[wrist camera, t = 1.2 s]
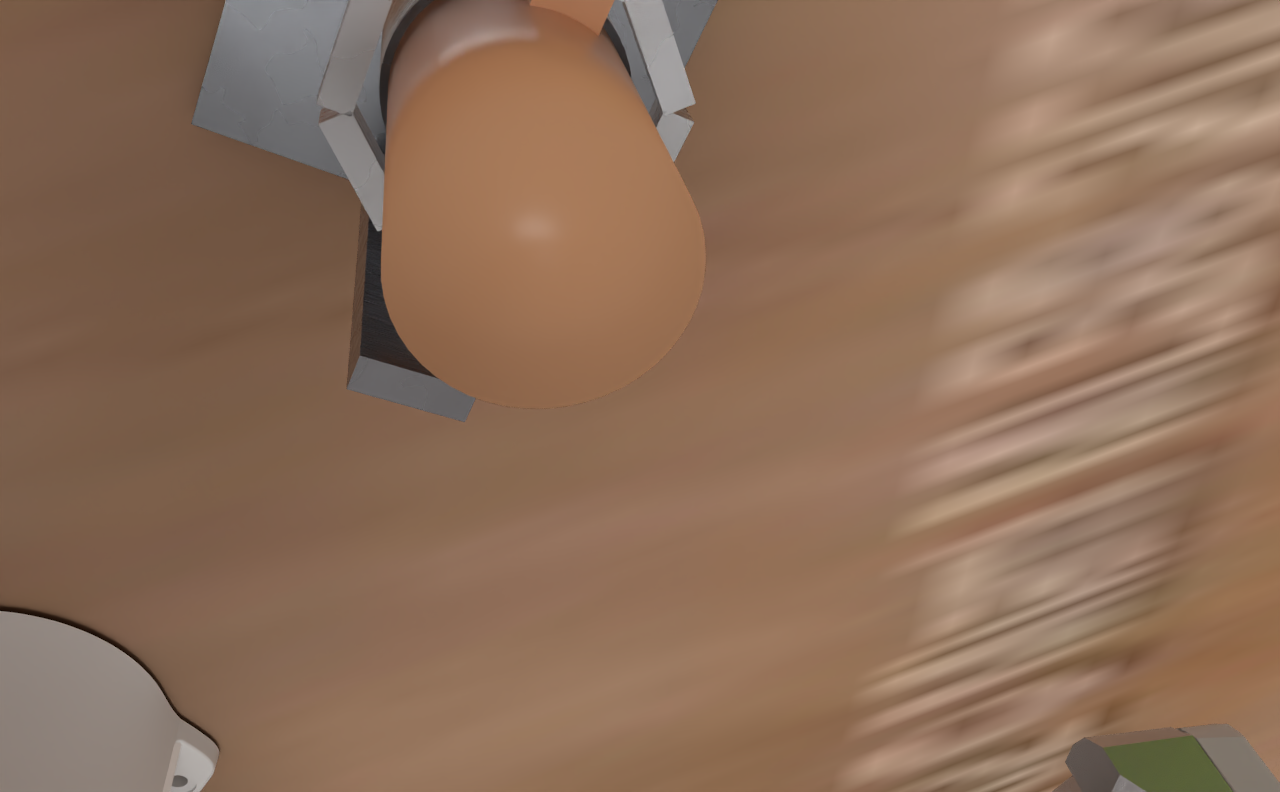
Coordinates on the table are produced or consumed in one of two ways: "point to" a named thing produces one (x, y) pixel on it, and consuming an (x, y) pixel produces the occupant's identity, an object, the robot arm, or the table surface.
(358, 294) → the grey ridged piece
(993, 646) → the table surface
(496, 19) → the tan rounded piece
